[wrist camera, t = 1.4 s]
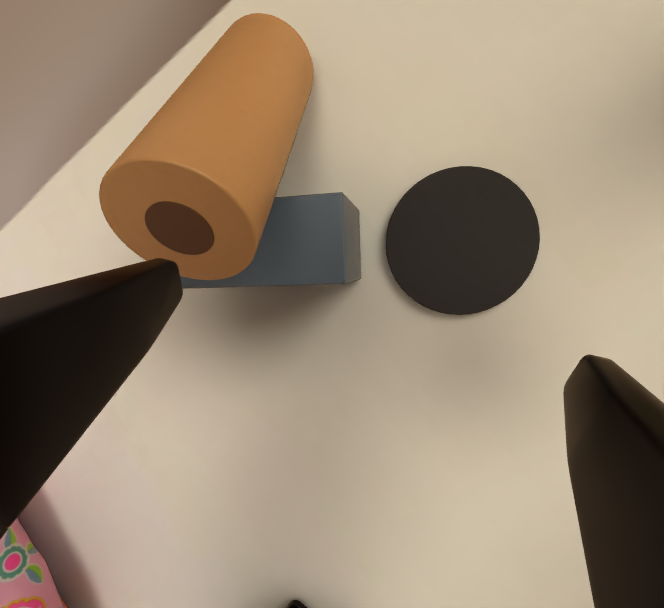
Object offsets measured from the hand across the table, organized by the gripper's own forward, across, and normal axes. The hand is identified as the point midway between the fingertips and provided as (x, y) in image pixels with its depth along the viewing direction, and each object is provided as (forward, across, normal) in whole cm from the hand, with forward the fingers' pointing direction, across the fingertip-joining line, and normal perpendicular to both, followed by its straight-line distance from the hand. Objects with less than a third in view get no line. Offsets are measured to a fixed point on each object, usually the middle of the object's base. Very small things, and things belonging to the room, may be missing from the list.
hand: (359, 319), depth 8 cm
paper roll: (+15, +8, +2) cm, 17 cm away
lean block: (+13, +7, +6) cm, 15 cm away
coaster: (+14, -3, +4) cm, 15 cm away
